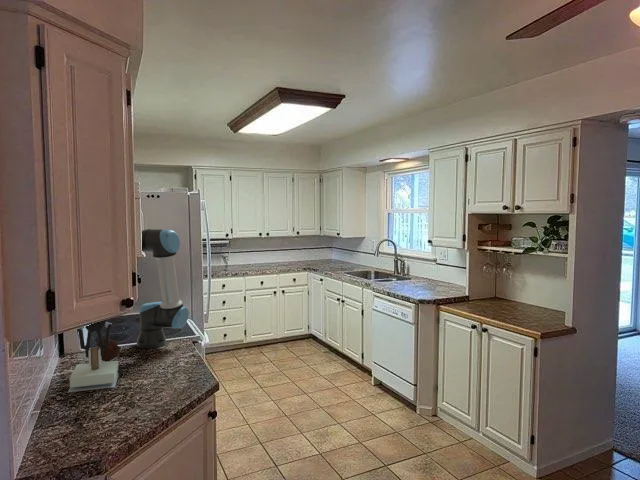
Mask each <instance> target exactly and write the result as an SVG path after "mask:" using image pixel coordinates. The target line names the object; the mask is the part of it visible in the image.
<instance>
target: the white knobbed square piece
mask: <svg viewBox="0 0 640 480" xmlns="http://www.w3.org/2000/svg"><path fill="white" fill-rule="evenodd" d="M98 349H99V347H98V346H92V347H91V366H89V362H88V363H86V362H85V363H79V364H76V366H75V368H74V370H72V373H71V375H70V376H69V389H70V388H71V387H80V386H89V385H98V384H107V383H114V382H115V379H116V375H117V373H119V372H118V371H119V360H110V361H107V362H105V361H101V365H99V358H98Z"/></svg>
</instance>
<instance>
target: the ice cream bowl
mask: <svg viewBox="0 0 640 480" xmlns="http://www.w3.org/2000/svg"><path fill="white" fill-rule="evenodd" d="M102 337H103V336H102ZM105 340H106V336H104V337H103V342H104V344H105ZM96 347H99V348H100V344H99V339H98V340H97V343H96ZM121 349H122V348H121V346H119V344H118V342H117V341H116V340H114V339H111V338H109V345H108V347H105V348H104V355H103V356H101V362H107V361H113V360H114V359H115V358H116V357H117V356H118V355H119V354H120V352H121Z"/></svg>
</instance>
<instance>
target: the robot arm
mask: <svg viewBox="0 0 640 480" xmlns="http://www.w3.org/2000/svg"><path fill="white" fill-rule="evenodd" d="M141 231H142V251H143V252H142V253H145V252H149V253H150V252H152V257H153V258H154V259H155V260H156V264H157V271H158V279H159V285H160V286H159V287H160V294H161V300H162V301H153V302H148V303H147V302H146V303H144V304H141V305H140V307H139V334H138V336H137V339H136V347H137V348H139V349H140V348H141V349H155V348H159V347H163V346H165V345H167V338H166V335H165V333H164V330H163V328H167V329H169V328H170V329H181V328H183V327H185V325H186V323H187V321H188V319H189V309H188V307H186V306H184V303H183V300H181V299H180V293H179V287H178V278H177V271H176V263H175V257H176V256H177V254H178V253H177V252H178V251H179V250H180V246H181V240H180V236H179V234H178V233H177V232H176V231H174V230H172V229H161V228H159V229H158V228H157V229H153V228H152V229H151V228H147V229H143V230H141ZM106 320H107V319H105V320H104V321H101V322H97V323H94V324H91V325H89V326H86V327H83V328H80V329H76V330H77V332H78V339H79V346H80V349H81V350H85V358H88V363H89V366H91V348H90V346H91V340H92V334H93V332H96V333H97V338H98V340H99V344H100V348H99V349H98V358H99V365H101V362H102V360H101V356H103V355H104V348H105V347H108V345H109V339H110V335H111V327H112V326H113V323H112V322H108V321H106ZM104 326H105V328H106V331H105V337H106V340H105V344H104V342H103V331H102V329H103V327H104ZM84 328H85V329H86V330H87V334H86V335H87V338H86V343H85V339H84Z"/></svg>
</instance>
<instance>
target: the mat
mask: <svg viewBox="0 0 640 480" xmlns="http://www.w3.org/2000/svg"><path fill="white" fill-rule="evenodd" d="M119 374H120V373H119V372H117V375H116V379H115V382H114V383H107V384H98V385H89V386H80V387H71V388H70V387H69V388H68V391H67V393H72V392H82V391H89V390H90V391H91V390H92V391H93V390H100V389H108V388H109V389H111V388H115V387H116V385H117V382H118V378H119Z"/></svg>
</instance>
